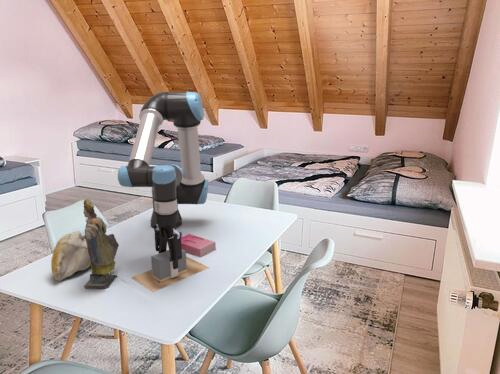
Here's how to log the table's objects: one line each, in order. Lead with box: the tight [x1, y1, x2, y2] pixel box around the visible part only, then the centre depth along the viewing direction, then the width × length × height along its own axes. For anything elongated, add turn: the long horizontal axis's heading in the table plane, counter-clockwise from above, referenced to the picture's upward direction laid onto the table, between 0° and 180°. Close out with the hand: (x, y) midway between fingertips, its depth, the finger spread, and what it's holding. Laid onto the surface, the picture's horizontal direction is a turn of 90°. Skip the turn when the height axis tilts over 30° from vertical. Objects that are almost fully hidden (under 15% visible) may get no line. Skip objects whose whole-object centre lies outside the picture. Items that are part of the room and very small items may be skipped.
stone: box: [50, 230, 91, 281], centre depth 146 cm, size 15×14×25 cm
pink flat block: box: [181, 233, 217, 258], centre depth 162 cm, size 9×5×20 cm
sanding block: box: [150, 249, 187, 282], centre depth 138 cm, size 11×5×8 cm, turn 137°
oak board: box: [130, 256, 210, 293], centre depth 141 cm, size 24×14×1 cm, turn 136°
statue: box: [80, 198, 120, 290], centre depth 134 cm, size 15×11×30 cm
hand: (169, 273), depth 139 cm, fingers closed on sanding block, 5 cm apart
